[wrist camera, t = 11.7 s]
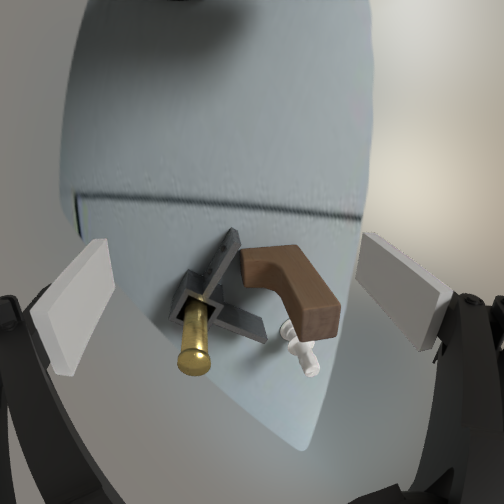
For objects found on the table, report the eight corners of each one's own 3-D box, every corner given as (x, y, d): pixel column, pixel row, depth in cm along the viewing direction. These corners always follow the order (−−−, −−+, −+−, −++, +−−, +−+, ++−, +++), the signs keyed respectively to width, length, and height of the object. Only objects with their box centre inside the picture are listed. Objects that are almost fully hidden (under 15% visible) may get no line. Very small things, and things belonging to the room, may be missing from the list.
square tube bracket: (216, 219, 43) (217, 232, 38) (299, 263, 48) (310, 281, 42) (172, 298, 47) (168, 319, 41) (251, 332, 52) (256, 354, 46)
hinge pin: (184, 282, 46) (175, 352, 31) (208, 281, 47) (209, 352, 31) (186, 302, 48) (179, 376, 32) (209, 302, 48) (211, 375, 33)
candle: (277, 340, 53) (292, 387, 42) (283, 316, 51) (301, 362, 40) (304, 340, 54) (324, 385, 43) (311, 317, 52) (334, 360, 41)
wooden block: (240, 274, 47) (257, 350, 30) (239, 248, 45) (256, 315, 29) (296, 269, 48) (337, 338, 31) (297, 243, 46) (342, 304, 30)
